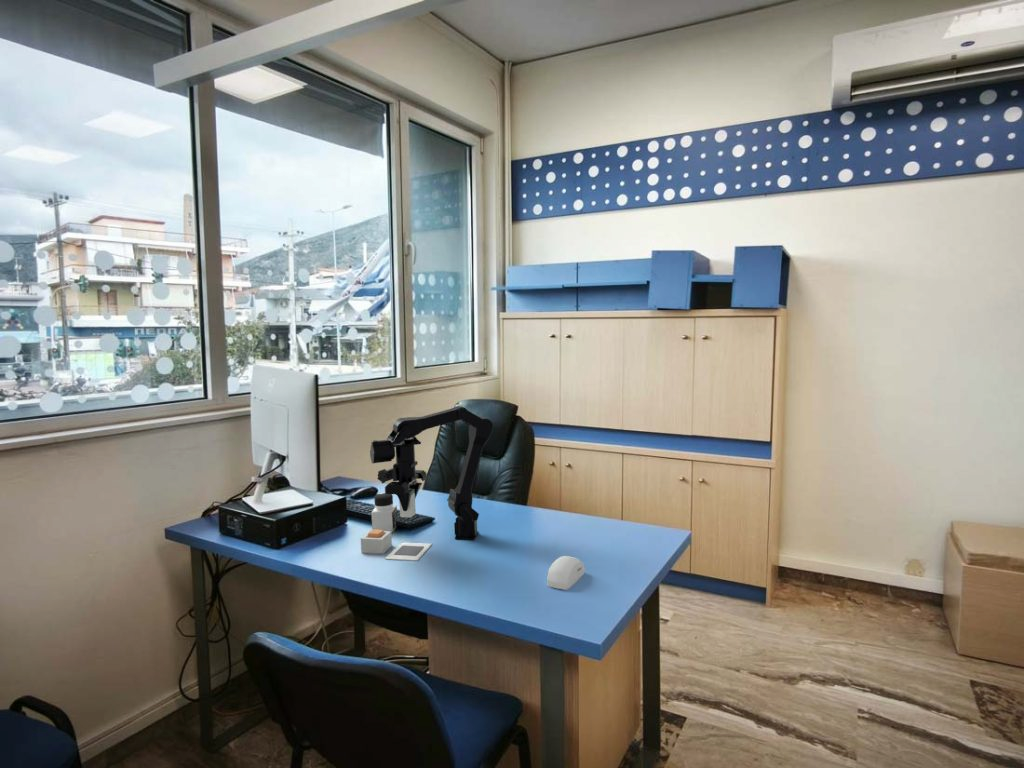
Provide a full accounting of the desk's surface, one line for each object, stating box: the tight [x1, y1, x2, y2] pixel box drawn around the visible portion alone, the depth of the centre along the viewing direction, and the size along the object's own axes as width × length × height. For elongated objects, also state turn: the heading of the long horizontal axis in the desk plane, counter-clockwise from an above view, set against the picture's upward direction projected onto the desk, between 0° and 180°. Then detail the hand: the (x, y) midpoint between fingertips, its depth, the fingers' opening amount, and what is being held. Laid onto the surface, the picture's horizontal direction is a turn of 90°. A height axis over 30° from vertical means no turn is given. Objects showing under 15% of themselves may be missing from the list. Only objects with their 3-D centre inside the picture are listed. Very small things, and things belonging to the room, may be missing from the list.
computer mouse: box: [546, 555, 586, 591], centre depth 162 cm, size 6×13×6 cm, turn 150°
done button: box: [367, 529, 384, 538], centre depth 189 cm, size 4×4×2 cm
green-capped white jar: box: [398, 489, 416, 519], centre depth 189 cm, size 4×4×8 cm
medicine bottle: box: [371, 492, 398, 533], centre depth 207 cm, size 7×7×12 cm
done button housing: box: [360, 530, 393, 555], centre depth 189 cm, size 7×7×4 cm
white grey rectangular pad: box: [384, 542, 433, 562], centre depth 186 cm, size 10×13×1 cm
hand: (407, 509), depth 189 cm, fingers closed on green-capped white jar, 4 cm apart
